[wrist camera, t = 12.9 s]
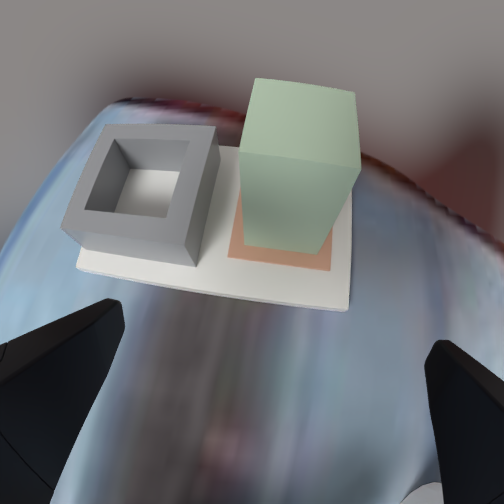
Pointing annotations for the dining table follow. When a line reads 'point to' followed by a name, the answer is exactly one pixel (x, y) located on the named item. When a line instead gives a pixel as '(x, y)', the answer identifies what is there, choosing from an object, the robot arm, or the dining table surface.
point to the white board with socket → (191, 222)
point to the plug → (296, 163)
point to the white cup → (426, 495)
